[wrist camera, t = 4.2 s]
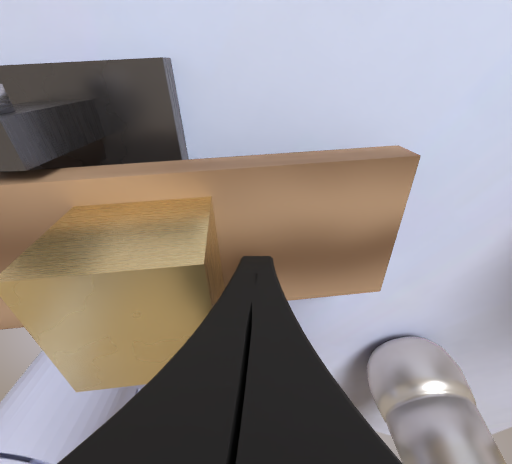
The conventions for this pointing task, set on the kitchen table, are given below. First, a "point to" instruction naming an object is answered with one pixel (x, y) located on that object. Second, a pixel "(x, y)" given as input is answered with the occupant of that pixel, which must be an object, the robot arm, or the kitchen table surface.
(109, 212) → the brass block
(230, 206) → the balance beam
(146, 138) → the pivot stand
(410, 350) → the plastic bottle
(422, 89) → the kitchen table surface
